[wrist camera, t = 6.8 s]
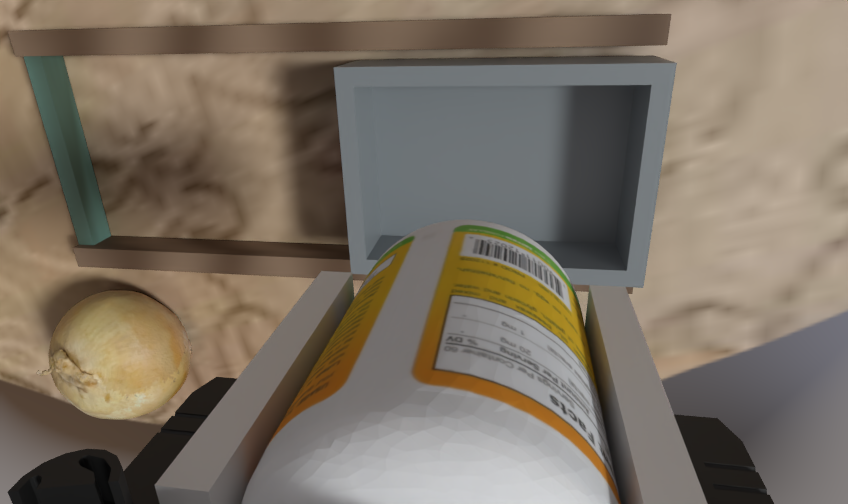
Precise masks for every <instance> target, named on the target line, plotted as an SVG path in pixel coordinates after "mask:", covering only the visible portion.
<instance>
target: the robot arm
mask: <svg viewBox="0 0 848 504" xmlns="http://www.w3.org/2000/svg"><path fill="white" fill-rule="evenodd" d="M353 300H354V288H353V276H352V273H351V272H332V271H321V272H320V273H319V275H318V276H317V277H316V279H315V280H314V281H313V282H312V284H311V285H310V286H309V288H308V289H307V290H306V291H305V293H304V294H303V295H302V297H301V298H300V299H299V300H298V302H297V303H296V304H295V306H294V307H293V308H292V309H291V311H290V312H289V313H288V315H287V316H286V317H285V318H284V320H283V321H282V322H281V323H280V325H279V326H278V327H277V329H276V330H275V331H274V332H273V334H272V335H271V336H270V338H269V339H268V340H267V341H266V343H265V344H264V345H263V347H262V348H261V349H260V350H259V352H258V353H257V354H256V356H255V357H254V358H253V359H252V361H251V362H250V363H249V365H248V366H247V367H246V368H245V370H244V371H243V372H242V374H241V375H240V376H239V377H238V379H234V378H223V377H216V378H214V379H213V380H211V381H210V382H208V383H206V384H205V385H203V386H202V387H200V388H199V389H197V390H196V391H194V392H193V393H192V394H191V395H190V396H189V397H188V398H187V399H186V400H185V402H184V403H183V404H182V405H181V406H180V407H179V408H178V410H177V411H176V412H175V416H171V418H170V419H169V420H168V421H167V422H166V423H165V425H164V426H163V427H162V428H161V432H160V433H157V434H156V435H155V436H154V437H153V438H152V439H151V441H150V442H149V443H148V444H147V445H146V446H145V448H144V449H143V450H142V451H141V452H140V453H139V455H138V456H137V457H136V458H135V459H134V460H133V461H132V462H131V464H130V465H129V466H128V467H127V468H126V469H125V471H124V472H123V469H122V466H121V464H120V461H119V459H118V457H117V456H116V455H114V454H112V453H110V452H108V451H106V450H98V449H85V450H80V451H75V452H70V453H66V454H63V455H61V456H58V457H56V458H54V459H51V460H49V461H47V462H44V463H43V464H41V465H40V466H38V467H36V468H35V469H33V470H32V471H30V472H29V473H27V474H26V475H24V476H23V477H22V478H21V479H20V480H19V481H18V482H17V483H16V484H15V485H14V486H13V487H12V488H11V489H10V490H9V491H8V494H9V496H10V498H11V501H12V503H13V504H241V503H242V500H243V497H244V494H245V491H246V489H247V486H248V483H249V481H250V479H251V477H252V475H253V473H254V472H255V470H256V468H257V466H258V464H259V462H260V460H261V458H262V456H263V454H264V452H265V450H266V448H267V446H268V444H269V442H270V441H271V439H272V437H273V435H274V434H275V432H276V430H277V428H278V427H279V425H280V423H281V422H282V420H283V418H284V417H285V415H286V413H287V411H288V409H289V408H290V406H291V404H292V403H293V401H294V400H295V398H296V396H297V395H298V393H299V391H300V389H301V388H302V386H303V384H304V383H305V381H306V379H307V378H308V376H309V374H310V372H311V371H312V369H313V367H314V365H315V364H316V362H317V361H318V359H319V357H320V355H321V354H322V353H323V351H324V349H325V348H326V346H327V344H328V342H329V340H330V339H331V337H332V336H333V335H334V333H335V331H336V329H337V327H338V326H339V324H340V322H341V320H342V319H343V317H344V315H345V314H346V312H347V310H348V309H349V307H350V305H351V304H352V302H353ZM585 331H586V336H587V341H588V346H589V351H590V356H591V360H592V366H593V370H594V375H595V381H596V385H597V390H598V395H599V399H600V403H601V409H602V415H603V420H604V426H605V430H606V434H607V440H608V445H609V449H610V454H611V459H612V464H613V470H614V474H615V479H616V483H617V486H618V490H619V497H620V500H621V504H774V502H773V501H772V499H771V497H770V495H767V491H766V490H767V489H766V487H765V485H764V483H763V481H762V479H761V477H760V475H759V473H758V472H756V471H755V466H754V464H753V462H752V460H751V458H750V456H749V454H748V452H747V450H746V448H745V446H744V444H743V442H742V441H741V440H740V439H739V438H738V437H737V436H736V435H735V434H734V433H732V431H730V430H729V429H728V428H727V427H726V426H725V425H724V424H723V423H722V422H721V421H720V420H719V419H717V418H706V417H695V416H684V415H674V414H673V411H672V409H671V406H670V403H669V401H668V398H667V396H666V393H665V390H664V388H663V385H662V382H661V380H660V377H659V374H658V372H657V369H656V366H655V364H654V361H653V359H652V356H651V353H650V351H649V348H648V345H647V343H646V340H645V337H644V335H643V332H642V329H641V327H640V324H639V321H638V319H637V316H636V314H635V311H634V308H633V306H632V303H631V300H630V298H629V295H628V292H627V290H626V287H617V286H599V285H589V294H588V304H587V313H586V322H585Z"/></svg>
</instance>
